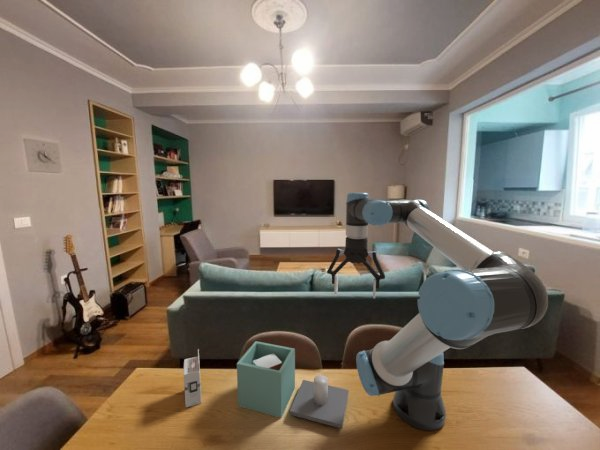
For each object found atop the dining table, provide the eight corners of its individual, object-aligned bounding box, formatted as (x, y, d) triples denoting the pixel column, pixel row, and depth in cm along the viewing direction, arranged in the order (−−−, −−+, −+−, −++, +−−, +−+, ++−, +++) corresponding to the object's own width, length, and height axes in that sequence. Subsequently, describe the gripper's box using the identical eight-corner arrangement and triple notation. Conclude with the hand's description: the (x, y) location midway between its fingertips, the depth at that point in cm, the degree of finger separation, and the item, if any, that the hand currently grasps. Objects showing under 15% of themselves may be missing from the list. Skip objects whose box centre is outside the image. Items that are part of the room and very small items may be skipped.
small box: (260, 408, 86) (260, 371, 84) (252, 395, 91) (251, 360, 89) (282, 397, 90) (282, 362, 88) (274, 386, 95) (273, 352, 93)
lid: (348, 397, 90) (349, 370, 89) (342, 433, 77) (342, 403, 76) (303, 386, 95) (303, 361, 94) (289, 418, 82) (289, 390, 80)
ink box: (185, 389, 94) (183, 350, 91) (200, 385, 95) (198, 347, 93) (185, 408, 86) (182, 366, 84) (201, 403, 87) (199, 362, 85)
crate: (294, 387, 94) (294, 348, 92) (281, 418, 82) (281, 373, 80) (256, 378, 99) (255, 341, 97) (238, 406, 87) (236, 363, 84)
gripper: (393, 236, 93) (390, 294, 96) (323, 233, 101) (323, 287, 104) (394, 241, 86) (391, 303, 89) (319, 236, 94) (318, 294, 97)
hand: (354, 294), depth 97 cm, fingers open, 13 cm apart
